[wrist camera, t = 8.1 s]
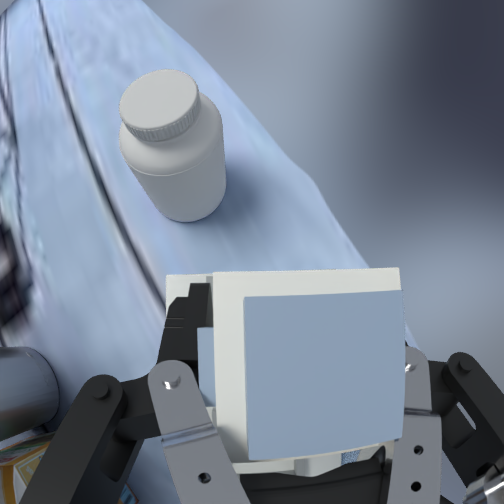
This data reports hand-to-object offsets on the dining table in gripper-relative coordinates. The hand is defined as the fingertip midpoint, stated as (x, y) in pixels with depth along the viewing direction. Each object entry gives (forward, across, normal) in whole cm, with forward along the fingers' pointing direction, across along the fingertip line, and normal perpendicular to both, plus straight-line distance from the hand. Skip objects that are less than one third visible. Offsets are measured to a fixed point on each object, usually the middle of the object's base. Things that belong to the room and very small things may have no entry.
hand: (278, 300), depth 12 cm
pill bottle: (+22, -6, -4) cm, 23 cm away
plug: (+2, 0, -4) cm, 5 cm away
